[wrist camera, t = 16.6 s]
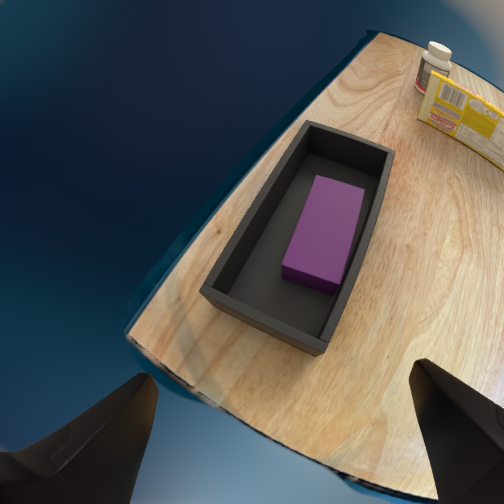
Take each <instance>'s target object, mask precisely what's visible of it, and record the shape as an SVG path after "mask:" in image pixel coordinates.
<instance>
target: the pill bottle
mask: <svg viewBox="0 0 504 504" xmlns="http://www.w3.org/2000/svg"><path fill="white" fill-rule="evenodd" d="M428 50H429V51H425V52H424V53H423V55H422V58H421V63H420V67H419V71H418V74H417V78H416V82H415V86H416V88H417V90H418V91H419V92H421V93H422V94H423V95H425V92H426V89H427V85H428V82H429V78H430V75H431V71H432V70H433V71H435V72H437V73H439V74H441V75H443V76H445V77H447V78H449V75H450V72H451V69H452V66H451V63H450V62H449V61H448V60H450V58H451V54H452V52H451V51H450V50H449V49H448V48H446V47H445V46H443V45H440V44H438V43H435V42H429V45H428Z"/></svg>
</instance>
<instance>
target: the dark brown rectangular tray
mask: <svg viewBox="0 0 504 504" xmlns="http://www.w3.org/2000/svg"><path fill="white" fill-rule="evenodd" d="M394 155H395V151H394V150H392V149H390V148H387V147H385V146H382V145H380V144H377V143H374V142H372V141H369V140H367V139H364V138H361V137H358V136H356V135H353V134H350V133H347V132H344V131H341V130H338V129H335V128H332V127H328V126H325V125H322V124H319V123H315V122H312V121H308V120H306V121H305V122H304V124H303V125H302V127H301V128H300V130H299V131H298V133H297V134H296V136H295V137H294V139H293V140H292V142H291V143H290V145H289V146H288V148H287V150H286V151H285V153H284V154H283V156H282V157H281V159H280V160H279V162H278V163H277V165H276V167H275V168H274V170H273V171H272V173H271V174H270V176H269V177H268V179H267V181H266V182H265V184H264V185H263V187H262V188H261V190H260V192H259V193H258V195H257V196H256V198H255V200H254V201H253V203H252V204H251V206H250V208H249V209H248V211H247V212H246V214H245V216H244V217H243V219H242V220H241V222H240V224H239V225H238V227H237V228H236V230H235V232H234V233H233V235H232V237H231V238H230V240H229V241H228V243H227V245H226V246H225V248H224V250H223V251H222V253H221V255H220V256H219V258H218V260H217V261H216V263H215V265H214V266H213V268H212V270H211V271H210V273H209V275H208V276H207V278H206V280H205V281H204V284H203V285H202V287H201V288H200V290H199V292H200V293H201V294H202V295H203V296H204V297H205V298H206V299H207V300H208V301H209V302H210V303H211V304H212V305H213V306H214V307H216V308H218V309H220V310H221V311H223V312H225V313H227V314H229V315H231V316H233V317H235V318H237V319H239V320H240V321H242V322H244V323H246V324H248V325H250V326H252V327H254V328H256V329H258V330H260V331H262V332H264V333H266V334H268V335H270V336H272V337H274V338H277V339H279V340H281V341H283V342H285V343H287V344H289V345H291V346H293V347H296V348H298V349H300V350H302V351H304V352H306V353H309V354H311V355H313V356H315V357H317V356H319V355H321V354H323V353H325V351H326V348H327V346H328V343H329V342H330V340H331V338H332V336H333V333H334V331H335V329H336V327H337V325H338V322H339V320H340V318H341V315H342V313H343V311H344V308H345V306H346V304H347V301H348V299H349V296H350V294H351V291H352V289H353V286H354V284H355V281H356V278H357V276H358V273H359V271H360V268H361V265H362V262H363V260H364V257H365V254H366V251H367V248H368V245H369V242H370V239H371V236H372V233H373V230H374V227H375V224H376V221H377V218H378V214H379V211H380V208H381V204H382V201H383V197H384V194H385V190H386V187H387V183H388V179H389V175H390V171H391V167H392V163H393V159H394ZM316 175H319V176H323V177H326V178H329V179H333V180H336V181H339V182H343V183H346V184H349V185H352V186H355V187H358V188H361V189H364V190H365V192H364V196H363V201H362V205H361V209H360V214H359V218H358V222H357V226H356V230H355V233H354V237H353V241H352V245H351V248H350V252H349V255H348V259H347V262H346V266H345V269H344V273H343V276H342V279H341V282H340V285H339V287H338V288H337V290H336V292H335V293H334V295H333V296H332V295H329V294H326V293H323V292H320V291H318V290H315V289H312V288H309V287H306V286H303V285H300V284H297V283H295V282H292V281H289V280H286V279H283V278H282V269H281V264H282V261H283V259H284V256H285V254H286V251H287V249H288V246H289V244H290V241H291V239H292V236H293V234H294V231H295V229H296V226H297V224H298V221H299V218H300V216H301V213H302V211H303V208H304V206H305V203H306V200H307V198H308V195H309V192H310V190H311V187H312V184H313V182H314V179H315V176H316Z"/></svg>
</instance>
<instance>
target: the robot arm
mask: <svg viewBox="0 0 504 504" xmlns="http://www.w3.org/2000/svg"><path fill="white" fill-rule="evenodd" d="M409 385H410V389H411V393H412V398H413V402H414V407H415V412H416V416H417V420H418V423H419V427H420V430H421V433H422V436H423V440H424V443H425V446H426V450H427V453H428V457H429V461H430V465H431V469H432V473H433V477H434V481H435V485H436V490H437V494H438V499H439V504H504V409H503V408H502V407H500V406H499V405H497V404H495V403H494V402H493V401H491V400H490V399H488V398H487V397H485V396H483V395H482V394H480V393H479V392H477V391H476V390H474V389H473V388H471V387H470V386H468V385H467V384H465V383H464V382H462V381H461V380H459V379H458V378H456V377H454V376H453V375H451V374H450V373H448V372H447V371H445V370H444V369H442V368H441V367H439V366H438V365H436V364H434V363H433V362H431V361H430V360H428V359H426V358H424V359H419V360H416V361H415V362H414V365H413V368H412V371H411V373H410V376H409ZM158 394H159V392H158V388H157V386H156V383H155V381H154V379H153V376H152V375H151V374H149V373H142V372H141V373H138V374H137V375H136V376H134V377H133V378H131V379H130V380H129V381H127V382H126V383H125V384H123V385H122V386H120V387H119V388H118V389H116V390H115V391H113V392H112V393H111V394H109V395H108V396H106V397H105V398H104V399H102V400H101V401H99V402H98V403H97V404H95V405H94V406H92V407H91V408H89V409H88V410H87V411H85V412H84V413H82V414H81V415H79V416H78V417H76V418H75V419H73V420H72V421H71V422H70V423H67V424H66V425H65V426H63V427H62V428H60V429H58V430H57V431H55V432H54V433H52V434H50V435H49V436H47V437H45V438H43V439H41V440H39V441H37V442H35V443H33V444H31V445H29V446H28V447H26V448H23V449H21V450H19V451H16V452H0V504H129V503H130V500H131V496H132V493H133V489H134V486H135V482H136V479H137V476H138V472H139V469H140V466H141V462H142V459H143V456H144V452H145V449H146V446H147V443H148V440H149V436H150V433H151V430H152V425H153V420H154V414H155V410H156V405H157V399H158Z"/></svg>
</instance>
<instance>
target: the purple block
mask: <svg viewBox="0 0 504 504" xmlns="http://www.w3.org/2000/svg"><path fill="white" fill-rule="evenodd" d="M364 192H365V190H364V189H361V188H358V187H355V186H352V185H349V184H346V183H343V182H339V181H336V180H333V179H329V178H326V177H323V176H319V175H316V176H315V179H314V182H313V184H312V187H311V190H310V192H309V195H308V198H307V200H306V203H305V206H304V208H303V211H302V213H301V216H300V218H299V221H298V224H297V226H296V229H295V231H294V234H293V236H292V239H291V241H290V244H289V246H288V249H287V251H286V254H285V256H284V259H283V261H282V264H281V269H282V278H283V279H286V280H289V281H292V282H295V283H297V284H300V285H303V286H306V287H309V288H312V289H315V290H318V291H320V292H323V293H326V294H329V295H332V296H333V295H334V293H335V292H336V290H337V288H338V287H339V285H340V282H341V279H342V276H343V273H344V269H345V266H346V262H347V259H348V255H349V252H350V248H351V245H352V241H353V237H354V233H355V230H356V226H357V222H358V218H359V214H360V209H361V205H362V201H363V196H364Z"/></svg>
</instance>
